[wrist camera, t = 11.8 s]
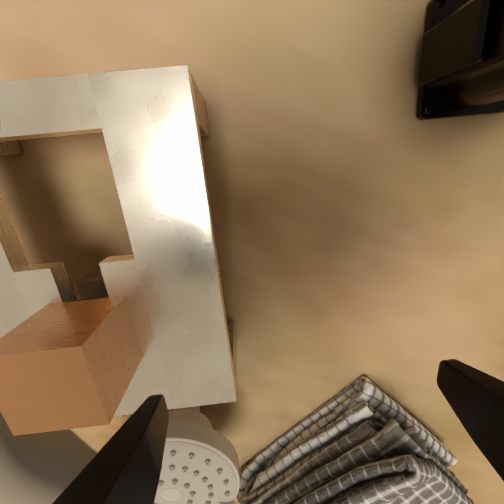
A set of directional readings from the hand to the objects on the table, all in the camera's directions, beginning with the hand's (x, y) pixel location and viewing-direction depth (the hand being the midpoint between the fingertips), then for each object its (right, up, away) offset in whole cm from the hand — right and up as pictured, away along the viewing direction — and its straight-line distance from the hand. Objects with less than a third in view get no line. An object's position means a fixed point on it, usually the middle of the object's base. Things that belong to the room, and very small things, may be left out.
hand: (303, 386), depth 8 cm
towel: (+8, -18, +19) cm, 27 cm away
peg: (-10, +1, +9) cm, 14 cm away
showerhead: (-7, -10, +16) cm, 20 cm away
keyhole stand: (-11, +5, +11) cm, 16 cm away
